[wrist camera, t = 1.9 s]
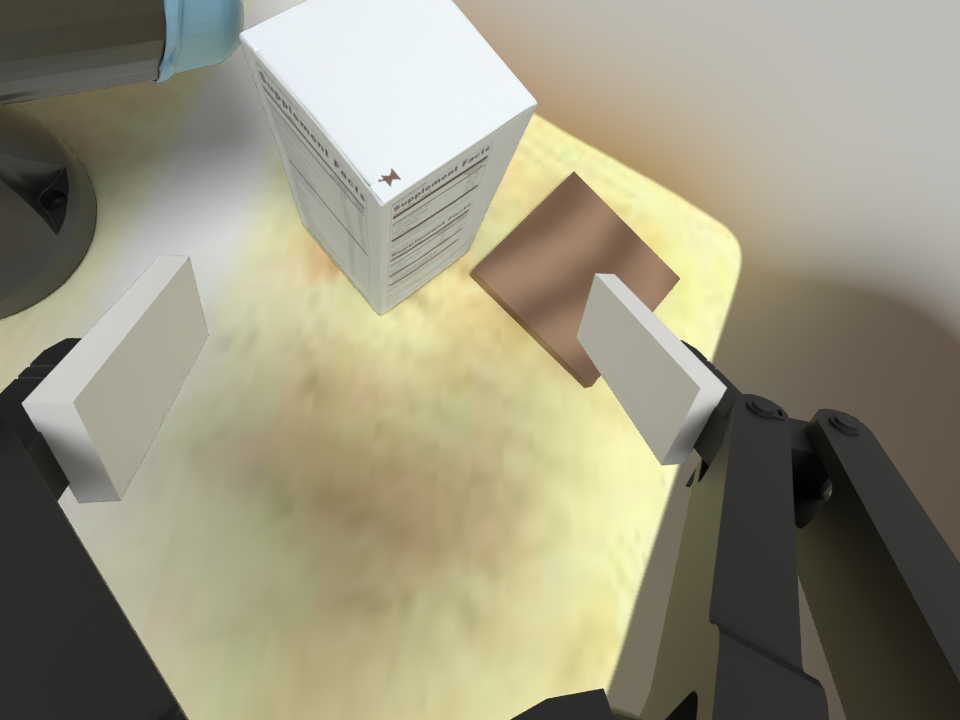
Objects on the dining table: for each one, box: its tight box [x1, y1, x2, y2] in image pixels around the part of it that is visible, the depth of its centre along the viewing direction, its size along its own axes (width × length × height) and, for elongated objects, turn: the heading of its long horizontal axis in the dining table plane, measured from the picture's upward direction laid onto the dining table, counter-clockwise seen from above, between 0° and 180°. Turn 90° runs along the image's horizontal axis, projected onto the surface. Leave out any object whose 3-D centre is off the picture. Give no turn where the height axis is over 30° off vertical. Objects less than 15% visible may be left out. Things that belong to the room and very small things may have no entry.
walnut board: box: [470, 172, 680, 388], centre depth 38 cm, size 13×13×1 cm
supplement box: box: [239, 0, 537, 316], centre depth 27 cm, size 10×9×17 cm
